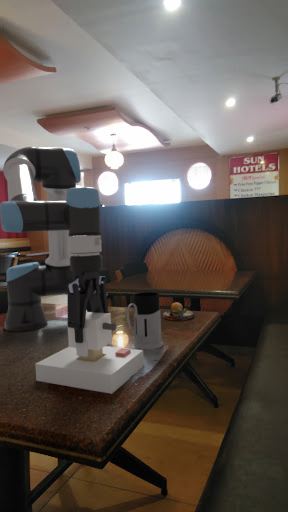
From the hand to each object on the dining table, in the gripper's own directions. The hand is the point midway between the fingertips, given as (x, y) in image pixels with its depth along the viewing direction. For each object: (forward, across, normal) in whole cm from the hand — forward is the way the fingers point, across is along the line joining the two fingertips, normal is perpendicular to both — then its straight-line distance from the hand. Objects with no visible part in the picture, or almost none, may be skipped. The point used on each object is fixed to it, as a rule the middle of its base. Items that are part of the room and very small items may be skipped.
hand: (90, 350), depth 84 cm
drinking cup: (+6, +27, +15) cm, 31 cm away
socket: (+6, 0, 0) cm, 6 cm away
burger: (+6, +58, -2) cm, 58 cm away
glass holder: (+6, +21, -4) cm, 22 cm away
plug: (+3, 0, -1) cm, 3 cm away
